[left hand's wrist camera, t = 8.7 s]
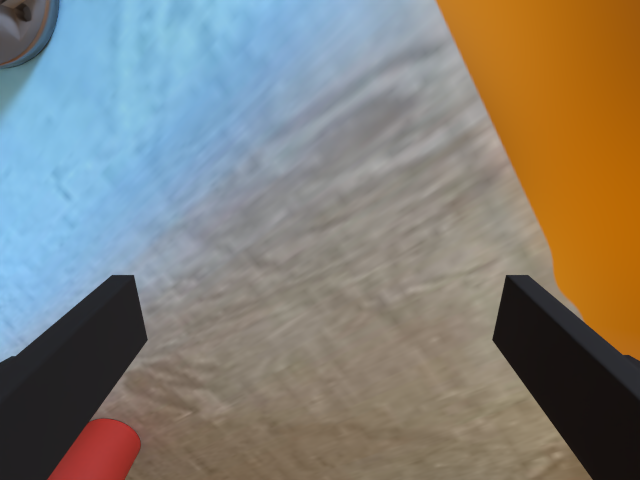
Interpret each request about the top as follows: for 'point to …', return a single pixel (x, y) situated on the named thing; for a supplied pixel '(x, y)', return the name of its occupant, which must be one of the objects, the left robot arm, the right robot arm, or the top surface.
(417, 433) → the top surface
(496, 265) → the top surface
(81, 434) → the can
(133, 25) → the top surface
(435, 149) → the top surface
